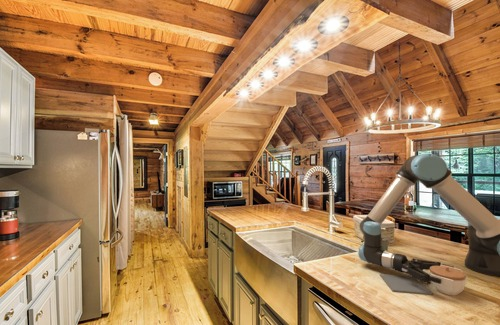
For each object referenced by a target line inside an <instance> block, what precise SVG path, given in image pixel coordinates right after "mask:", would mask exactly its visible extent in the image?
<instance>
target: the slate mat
mask: <svg viewBox="0 0 500 325" xmlns="http://www.w3.org/2000/svg"><path fill="white" fill-rule="evenodd" d="M379 276H380V277H381V279H382V280H383V282H384V283H385V284H386V285H387V287H388V288H389V289H390V290H391V291H392V292H393V293H402V294H403V293H404V294H405V293H407V294H416V295H418V294H419V295H429V296H433V295H434V292H432V291H431V290H430V289H429V288H428V287H427V286H426V285H424V284H423V282H422V281H420V280H418V279H416V278H414V277H412V276H410V275H400V274H399V275H398V274H384V273H379Z"/></svg>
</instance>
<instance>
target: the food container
mask: <svg viewBox="0 0 500 325" xmlns="http://www.w3.org/2000/svg"><path fill="white" fill-rule="evenodd" d="M381 246H382V247H381V249H382V250H386V251H389V250H388V249H389V241H388V239H387V238H385V237H381Z"/></svg>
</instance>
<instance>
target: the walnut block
mask: <svg viewBox="0 0 500 325" xmlns="http://www.w3.org/2000/svg"><path fill="white" fill-rule="evenodd" d="M441 265H444V266H448V267H452V268H455V267H454V265H451V264H446V263H442V262H441Z"/></svg>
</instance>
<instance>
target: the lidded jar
mask: <svg viewBox="0 0 500 325" xmlns="http://www.w3.org/2000/svg"><path fill="white" fill-rule="evenodd" d="M429 272H430V273H429V275H430V276H431V274H433V275H437V276H440V277H444V278H447V279H451V280H453V284H454V288H450V287H447V286H443V285H440V284H437V283H433V282H431V283H432V284H433V285H434V287H435V288H436V289H437V291H439V292H440V293H442V294H444V295H448V296H458V295H459V294H460V293H462V292H463V291H464V289H465V287H466V279H467V277H466V274H465V272H463V271H462V270H461V271H459V270H456V269H453V268H450V267H446V266H431V267H430V270H429Z"/></svg>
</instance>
